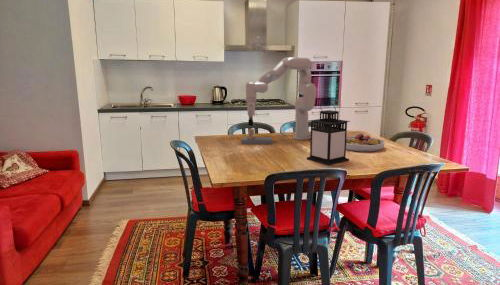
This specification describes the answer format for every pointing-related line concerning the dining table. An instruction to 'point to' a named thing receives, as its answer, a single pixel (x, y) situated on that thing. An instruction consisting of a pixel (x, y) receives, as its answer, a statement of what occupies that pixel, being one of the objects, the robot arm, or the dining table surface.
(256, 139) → the board
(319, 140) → the lantern
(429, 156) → the dining table surface
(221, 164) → the dining table surface
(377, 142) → the bowl
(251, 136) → the peg
